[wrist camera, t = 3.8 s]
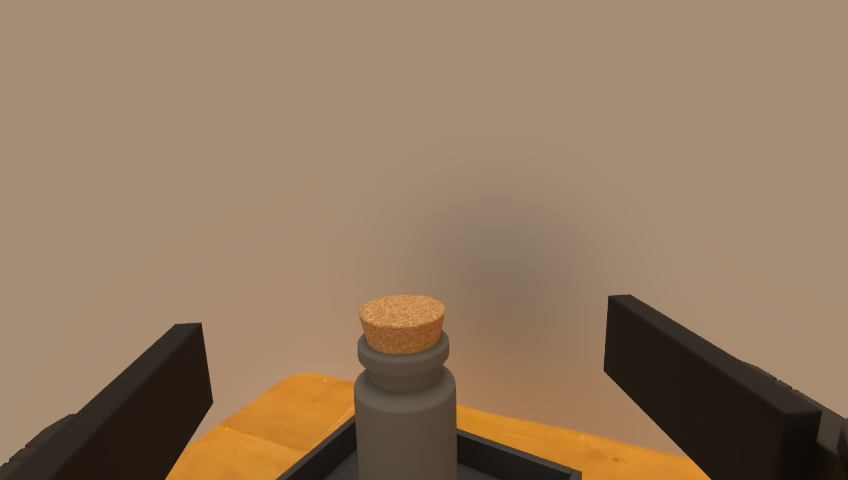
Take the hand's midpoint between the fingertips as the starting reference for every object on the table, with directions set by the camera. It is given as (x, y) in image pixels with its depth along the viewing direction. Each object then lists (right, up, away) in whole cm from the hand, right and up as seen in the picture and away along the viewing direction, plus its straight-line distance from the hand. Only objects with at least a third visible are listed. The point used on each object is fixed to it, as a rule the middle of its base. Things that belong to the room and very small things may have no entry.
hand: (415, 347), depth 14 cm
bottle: (-1, -15, +13) cm, 20 cm away
